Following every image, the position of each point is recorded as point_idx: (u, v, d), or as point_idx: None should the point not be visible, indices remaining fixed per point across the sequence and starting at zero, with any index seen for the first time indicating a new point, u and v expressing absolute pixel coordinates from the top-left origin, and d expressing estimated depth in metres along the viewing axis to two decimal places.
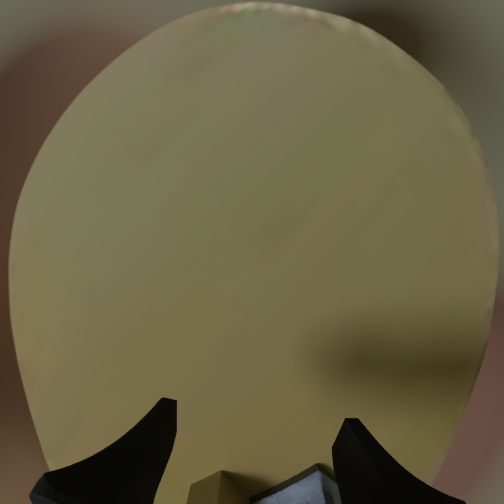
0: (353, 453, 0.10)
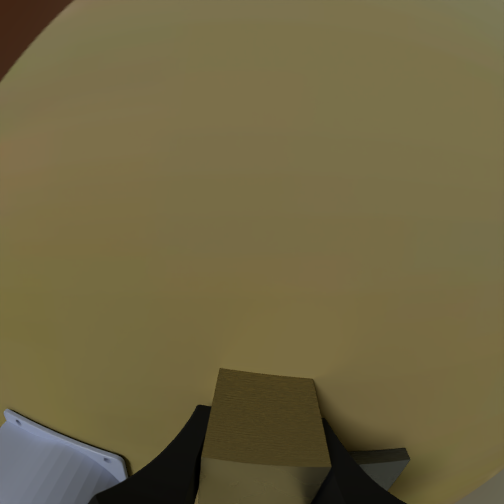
0: None
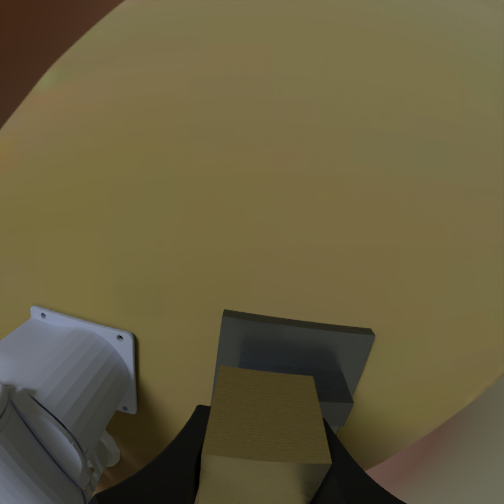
0: None
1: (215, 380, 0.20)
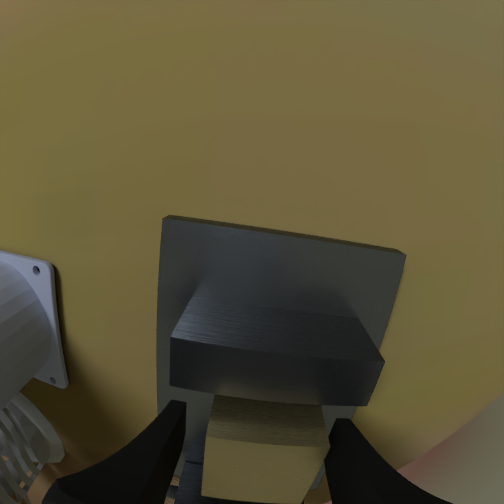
0: (344, 454, 0.10)
1: (158, 332, 0.13)
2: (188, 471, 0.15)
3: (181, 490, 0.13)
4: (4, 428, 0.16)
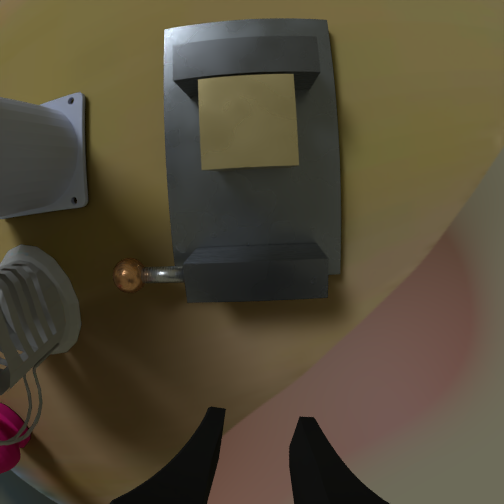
0: (304, 453, 0.10)
1: (165, 100, 0.17)
2: (200, 250, 0.18)
3: (192, 257, 0.16)
4: (21, 311, 0.20)
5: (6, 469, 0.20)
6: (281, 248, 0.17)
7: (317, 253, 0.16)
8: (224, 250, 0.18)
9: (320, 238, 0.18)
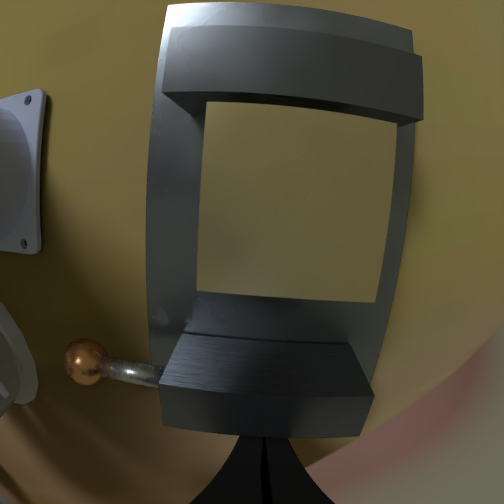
0: (263, 451, 0.10)
1: (153, 116, 0.11)
2: (187, 342, 0.12)
3: (174, 363, 0.10)
4: None
5: None
6: (304, 356, 0.11)
7: (357, 377, 0.10)
8: (221, 349, 0.12)
9: (355, 347, 0.13)
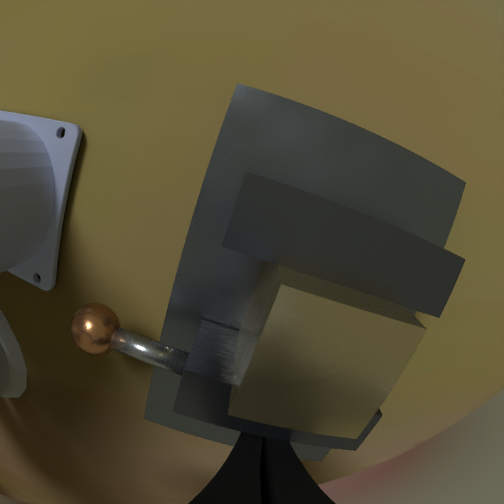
0: (263, 451, 0.10)
1: (196, 213, 0.11)
2: (208, 330, 0.12)
3: (197, 350, 0.10)
4: None
5: None
6: None
7: None
8: None
9: None
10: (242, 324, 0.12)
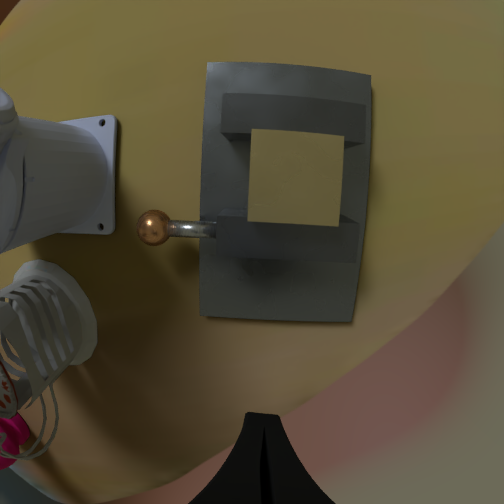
0: (263, 451, 0.10)
1: (204, 140, 0.18)
2: (230, 209, 0.18)
3: (224, 212, 0.16)
4: (35, 323, 0.21)
5: (5, 466, 0.20)
6: None
7: (347, 220, 0.16)
8: None
9: (338, 289, 0.20)
10: None
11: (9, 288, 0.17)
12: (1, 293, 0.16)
